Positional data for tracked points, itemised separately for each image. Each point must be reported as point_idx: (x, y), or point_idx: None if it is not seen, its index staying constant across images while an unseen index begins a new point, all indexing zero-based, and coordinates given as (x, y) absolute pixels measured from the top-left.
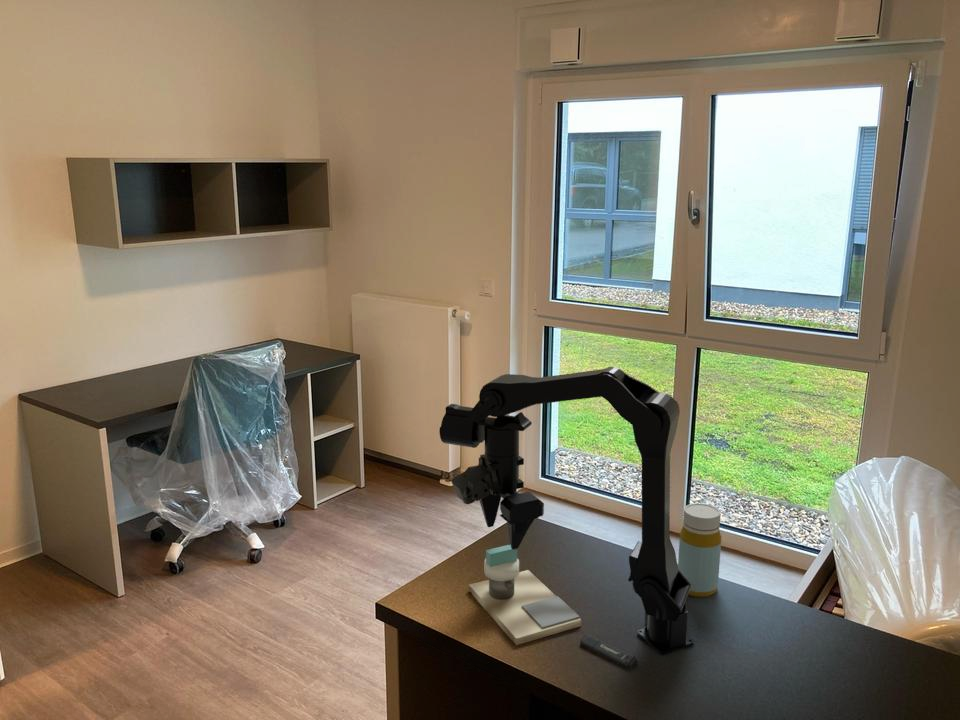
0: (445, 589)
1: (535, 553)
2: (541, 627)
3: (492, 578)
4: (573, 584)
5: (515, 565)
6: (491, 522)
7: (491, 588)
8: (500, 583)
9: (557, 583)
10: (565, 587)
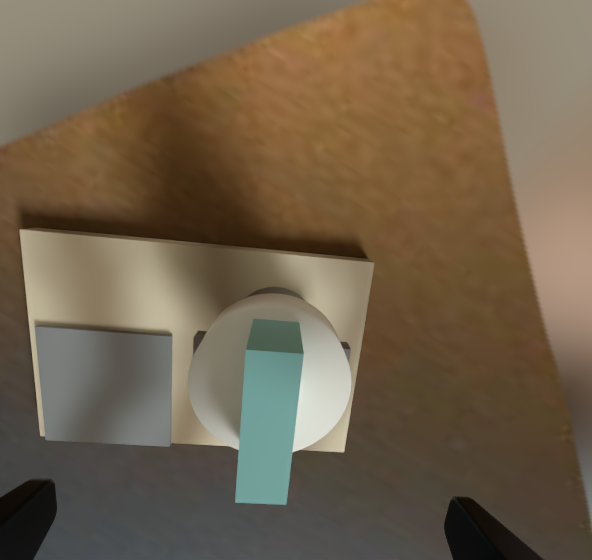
0: (419, 198)
1: (426, 508)
2: (43, 325)
3: (238, 302)
4: (240, 505)
5: (208, 418)
6: (464, 551)
7: None
8: None
9: None
10: None
